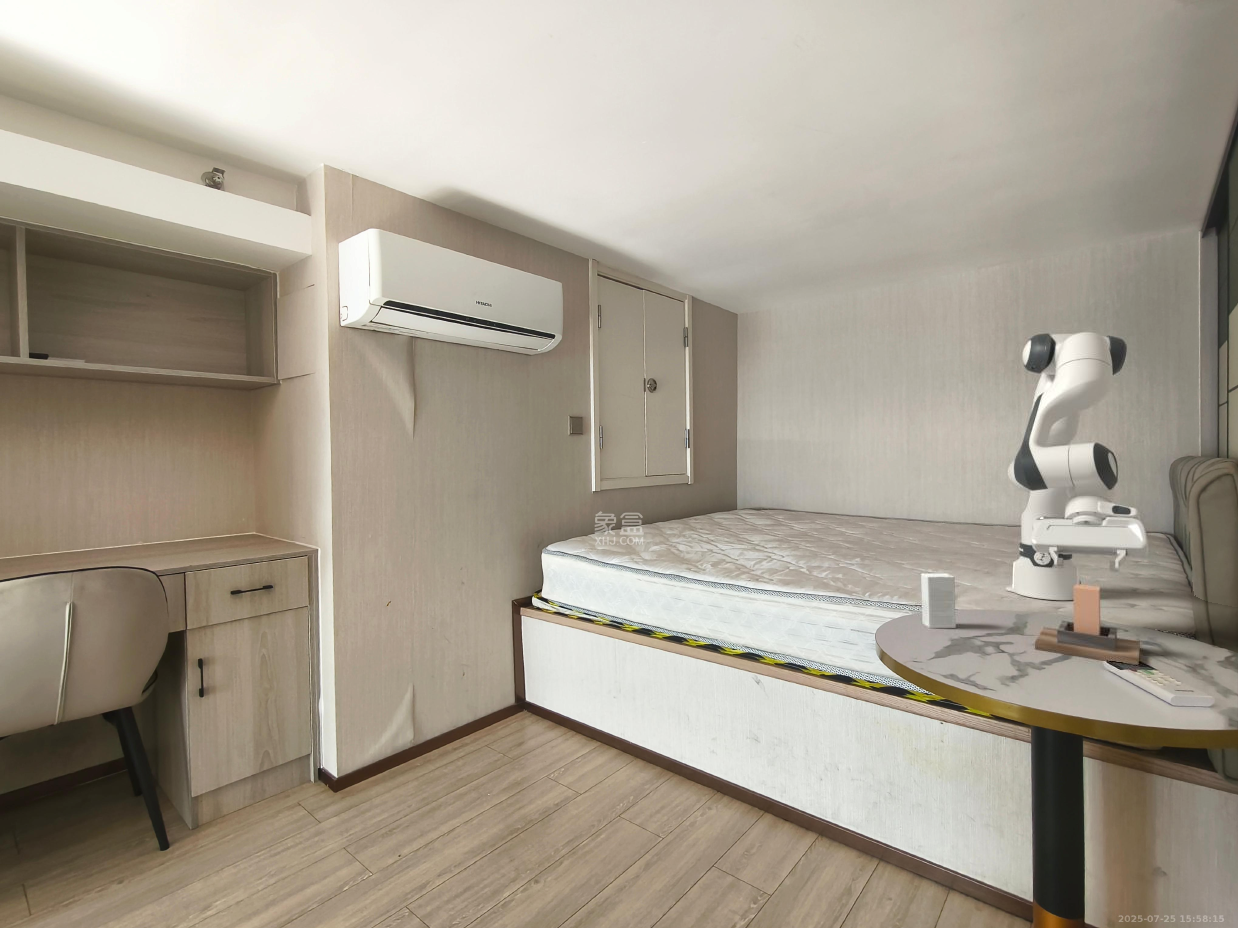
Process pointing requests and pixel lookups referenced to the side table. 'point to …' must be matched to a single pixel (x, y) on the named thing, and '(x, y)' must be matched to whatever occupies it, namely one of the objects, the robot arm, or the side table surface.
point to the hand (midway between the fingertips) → (1085, 568)
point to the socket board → (1088, 644)
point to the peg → (1087, 609)
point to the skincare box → (938, 600)
